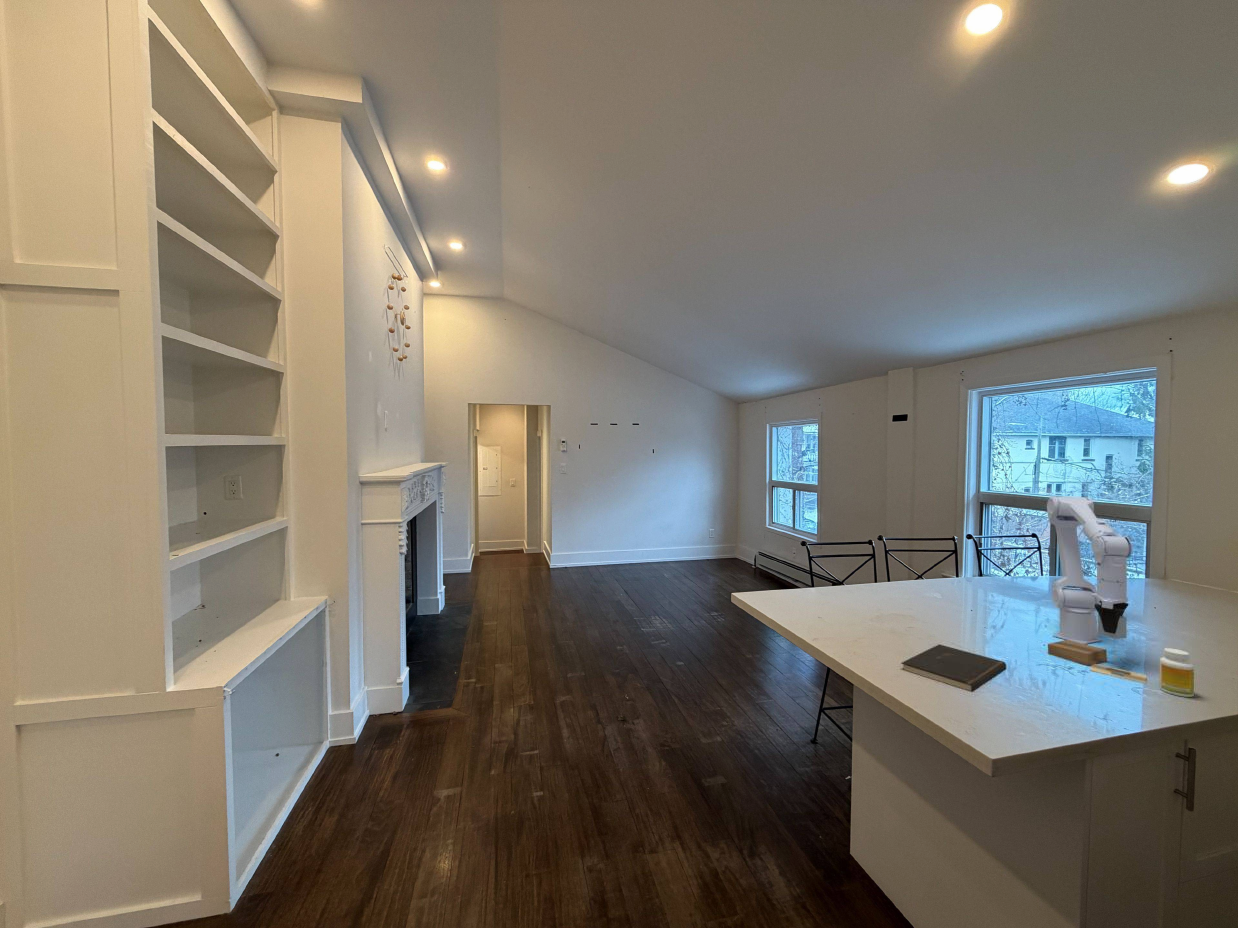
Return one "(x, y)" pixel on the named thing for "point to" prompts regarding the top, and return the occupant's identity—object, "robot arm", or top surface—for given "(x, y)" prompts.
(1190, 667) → the supplement bottle
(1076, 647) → the walnut slab
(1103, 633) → the gray brick
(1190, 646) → the top surface
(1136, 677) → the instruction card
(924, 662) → the hardcover book
